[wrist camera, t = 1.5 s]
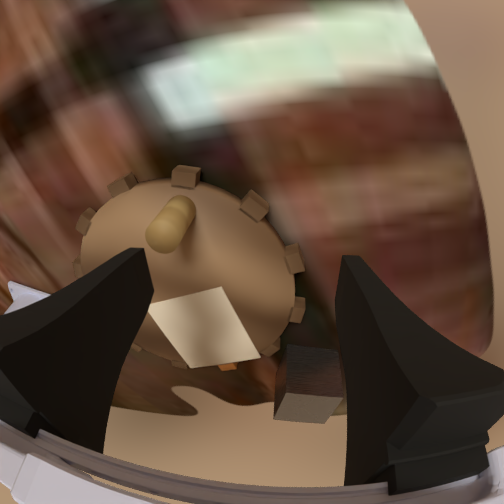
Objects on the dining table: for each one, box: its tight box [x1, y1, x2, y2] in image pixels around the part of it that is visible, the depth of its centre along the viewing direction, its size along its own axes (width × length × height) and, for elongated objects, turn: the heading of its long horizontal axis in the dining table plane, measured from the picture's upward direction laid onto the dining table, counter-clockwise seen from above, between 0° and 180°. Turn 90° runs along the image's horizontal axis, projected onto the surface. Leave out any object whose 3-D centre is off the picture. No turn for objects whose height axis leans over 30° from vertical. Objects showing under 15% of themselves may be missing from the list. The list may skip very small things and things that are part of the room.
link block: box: [273, 344, 343, 424], centre depth 24 cm, size 4×4×5 cm
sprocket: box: [72, 165, 305, 371], centre depth 20 cm, size 18×18×5 cm
